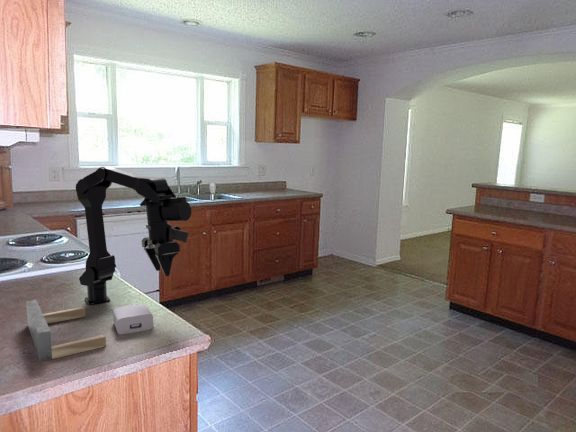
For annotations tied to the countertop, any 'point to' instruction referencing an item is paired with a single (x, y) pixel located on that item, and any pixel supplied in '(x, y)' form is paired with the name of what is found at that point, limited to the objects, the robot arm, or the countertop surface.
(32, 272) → the countertop surface
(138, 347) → the countertop surface
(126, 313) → the charger
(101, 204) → the robot arm
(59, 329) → the countertop surface
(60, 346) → the guarded bay
